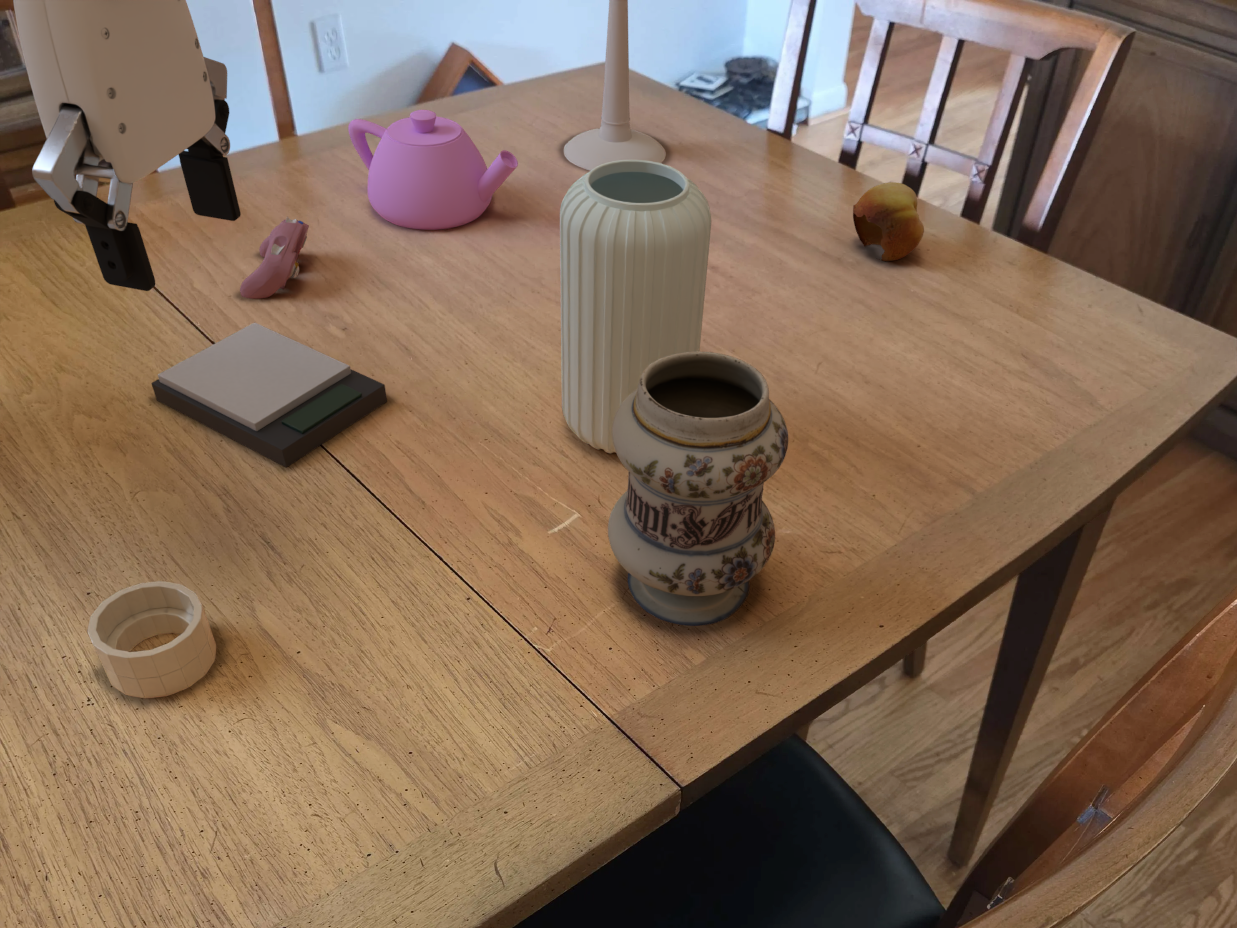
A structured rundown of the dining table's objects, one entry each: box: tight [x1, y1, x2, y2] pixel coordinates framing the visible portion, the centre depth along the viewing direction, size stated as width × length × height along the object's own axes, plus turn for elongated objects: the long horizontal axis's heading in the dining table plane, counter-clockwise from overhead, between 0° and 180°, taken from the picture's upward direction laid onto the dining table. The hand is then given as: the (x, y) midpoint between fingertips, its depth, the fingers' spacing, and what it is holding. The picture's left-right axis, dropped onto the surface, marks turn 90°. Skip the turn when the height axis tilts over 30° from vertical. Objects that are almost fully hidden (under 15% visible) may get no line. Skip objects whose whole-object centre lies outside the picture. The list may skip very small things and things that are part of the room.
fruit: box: [852, 181, 925, 262], centre depth 119 cm, size 8×8×8 cm
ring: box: [87, 580, 217, 699], centre depth 74 cm, size 7×7×5 cm
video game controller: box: [239, 216, 310, 300], centre depth 111 cm, size 10×5×7 cm, turn 0°
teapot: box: [347, 109, 519, 231], centre depth 121 cm, size 14×20×11 cm
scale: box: [151, 322, 388, 468], centre depth 96 cm, size 16×12×3 cm
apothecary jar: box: [607, 351, 789, 627], centre depth 77 cm, size 12×12×18 cm
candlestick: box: [563, 0, 667, 171], centre depth 126 cm, size 13×13×30 cm
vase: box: [559, 160, 712, 454], centre depth 89 cm, size 12×12×22 cm
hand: (176, 249), depth 69 cm, fingers open, 9 cm apart
